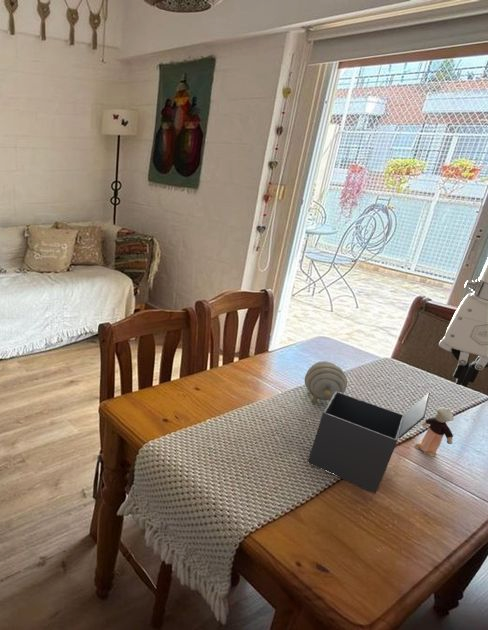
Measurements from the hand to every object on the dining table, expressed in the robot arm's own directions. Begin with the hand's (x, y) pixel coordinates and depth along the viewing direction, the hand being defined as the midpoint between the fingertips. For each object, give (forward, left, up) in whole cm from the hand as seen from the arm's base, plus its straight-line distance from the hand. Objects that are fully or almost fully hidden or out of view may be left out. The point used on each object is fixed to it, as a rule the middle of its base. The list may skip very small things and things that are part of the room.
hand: (461, 382), depth 84 cm
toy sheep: (+25, -26, -28) cm, 45 cm away
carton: (+13, 0, -28) cm, 31 cm away
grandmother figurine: (-1, -19, -28) cm, 34 cm away
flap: (+5, 0, -10) cm, 11 cm away
